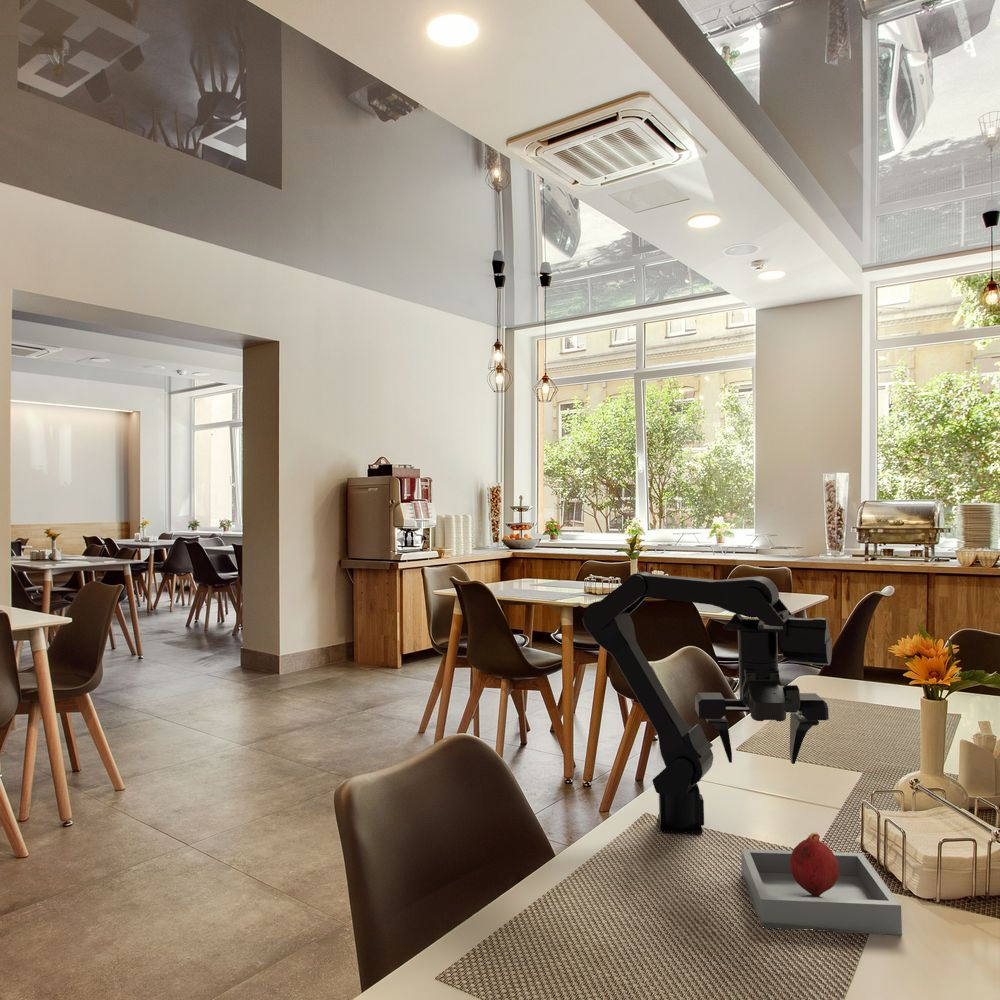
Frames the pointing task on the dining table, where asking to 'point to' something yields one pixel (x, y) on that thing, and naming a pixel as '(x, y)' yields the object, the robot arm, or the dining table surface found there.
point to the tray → (842, 908)
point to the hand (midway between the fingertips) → (761, 762)
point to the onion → (814, 865)
